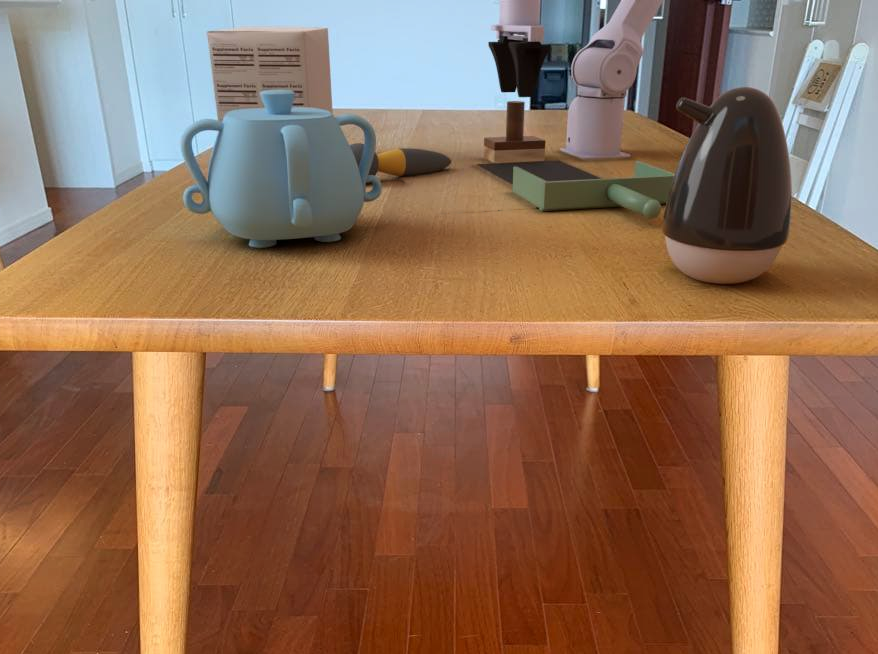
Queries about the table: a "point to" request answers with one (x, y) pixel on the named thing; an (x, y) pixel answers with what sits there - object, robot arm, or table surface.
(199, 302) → the table surface
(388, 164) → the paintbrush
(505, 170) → the mat
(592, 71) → the robot arm
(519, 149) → the brush
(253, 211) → the decorative pot
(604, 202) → the dustpan
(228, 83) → the supplement box
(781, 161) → the pump dispenser
